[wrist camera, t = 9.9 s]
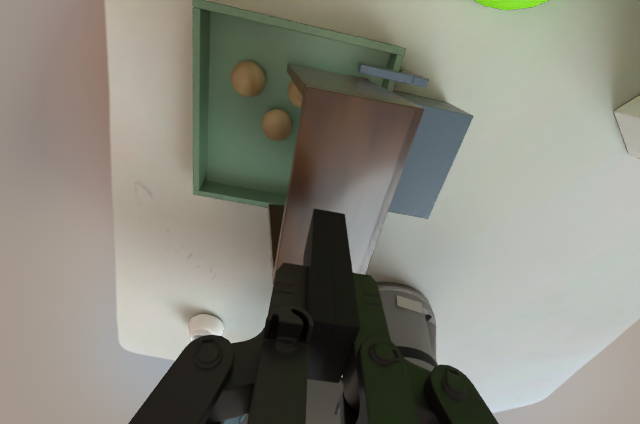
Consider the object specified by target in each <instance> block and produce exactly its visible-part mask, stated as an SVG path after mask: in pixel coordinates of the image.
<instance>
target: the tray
mask: <svg viewBox="0 0 640 424" xmlns="http://www.w3.org/2000/svg"><path fill="white" fill-rule="evenodd" d="M405 50H406V48H403V47H398V46H394V45H390V44H386V43H382V42H377V41H373V40H369V39H365V38H360V37H356V36H352V35H348V34H344V33H339V32H335V31H331V30H327V29H322V28H318V27H314V26H310V25H306V24H301V23H297V22H293V21H289V20H284V19H280V18H276V17H272V16H268V15H263V14H259V13H255V12H251V11H247V10H242V9H238V8H234V7H230V6H225V5H221V4H217V3H213V2H209V1H204V0H193V189H194V190H193V194H194V195H199V196H204V197H210V198H216V199H221V200H227V201H233V202H238V203H244V204H250V205H255V206H261V207H267V208H268V205H269V204H276V205H285V201H286V195H287V189H288V183H289V177H290V171H291V165H292V159H293V153H294V147H295V141H296V135H297V129H298V123H299V117H300V111H301V108H298V107H296V106H295V105H294V104H293V103H292V102H291V101H290V99H289V96H288V86H289V83H290V81H291V80H292V79H291V78H290V76H289V74H288V73H287V64H288V63H291V64H296V65H300V66H305V67H310V68H315V69H320V70H325V71H330V72H334V73H339V74H344V75H349V76H350V75H353V76H358V77H365V78H368V79H369V81H371V82H373V83H375V84H377V85H379V86H381V87H383V88H385V89H387V90H389V91H391V92H393V90H394V87H395V84H396V81H394V80H389V79H385V78H380V77H376V76H371V75H367V74H362V73H359V72H358V71H357V68H358V64H359V63H363V64H368V65H372V66H376V67H381V68H385V69H389V70H394V71H398V72H399V70H400V67H401V64H402V60H403V56H404V54H405ZM241 61H252V62H254V63H256V64H257V65H258V66H259V67H260V68H261V69H262V71H263V72H264V75H265V86H264V89H263V90H262V92H261V93H260V94H259V95H257V96H255V97H244V96H242V95H240V94H239V93H237V92H236V91H235V89H234V88H233V86H232V83H231V72H232V69H233V67H234V66H235V65H236V64H237V63H239V62H241ZM273 109H282V110H284V111H286V112H287V113H288V114H289V115H290V116H291V118H292V120H293V131H292V133H291V135H290V136H289V137H288V138H287V139H286V140H283V141H273V140H271V139H269V138H268V137H267V136H266V135H265V134H264V132H263V129H262V120H263V117H264V116H265V114H266V113H267V112H268V111H270V110H273Z"/></svg>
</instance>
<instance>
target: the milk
mask: <svg viewBox="0 0 640 424" xmlns="http://www.w3.org/2000/svg"><path fill="white" fill-rule="evenodd" d="M614 114H615V117H616V120H617V122H618V125H619V128H620V131H621V134H622V136H623V139H624V142H625V145H626V148H627V150H628V153H629V155H631V156H634V157H636V158H639V159H640V95H639V96H637V97H636V98H634V99H633V100H631V101H629V102H628V103H626V104H624V105H623V106H621V107H620V108H618V109H616V110H615V111H614Z"/></svg>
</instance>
